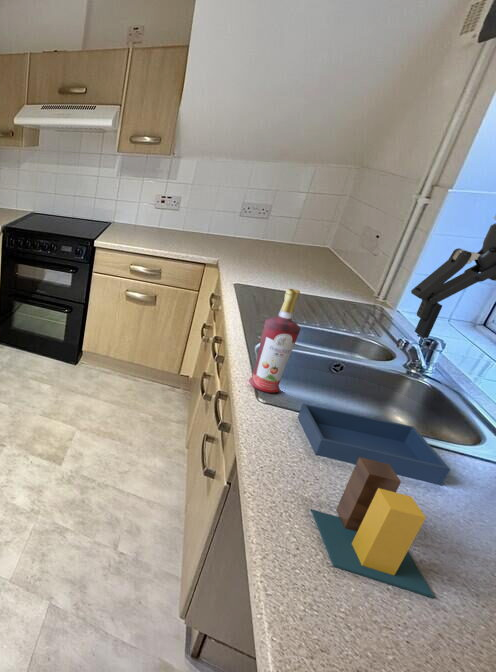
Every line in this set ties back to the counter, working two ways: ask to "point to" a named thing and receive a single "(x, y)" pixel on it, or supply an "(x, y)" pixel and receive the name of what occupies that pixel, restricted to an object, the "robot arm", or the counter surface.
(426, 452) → the bin
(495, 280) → the robot arm
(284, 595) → the counter surface
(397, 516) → the mustard piece
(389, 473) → the walnut piece
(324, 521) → the mat
